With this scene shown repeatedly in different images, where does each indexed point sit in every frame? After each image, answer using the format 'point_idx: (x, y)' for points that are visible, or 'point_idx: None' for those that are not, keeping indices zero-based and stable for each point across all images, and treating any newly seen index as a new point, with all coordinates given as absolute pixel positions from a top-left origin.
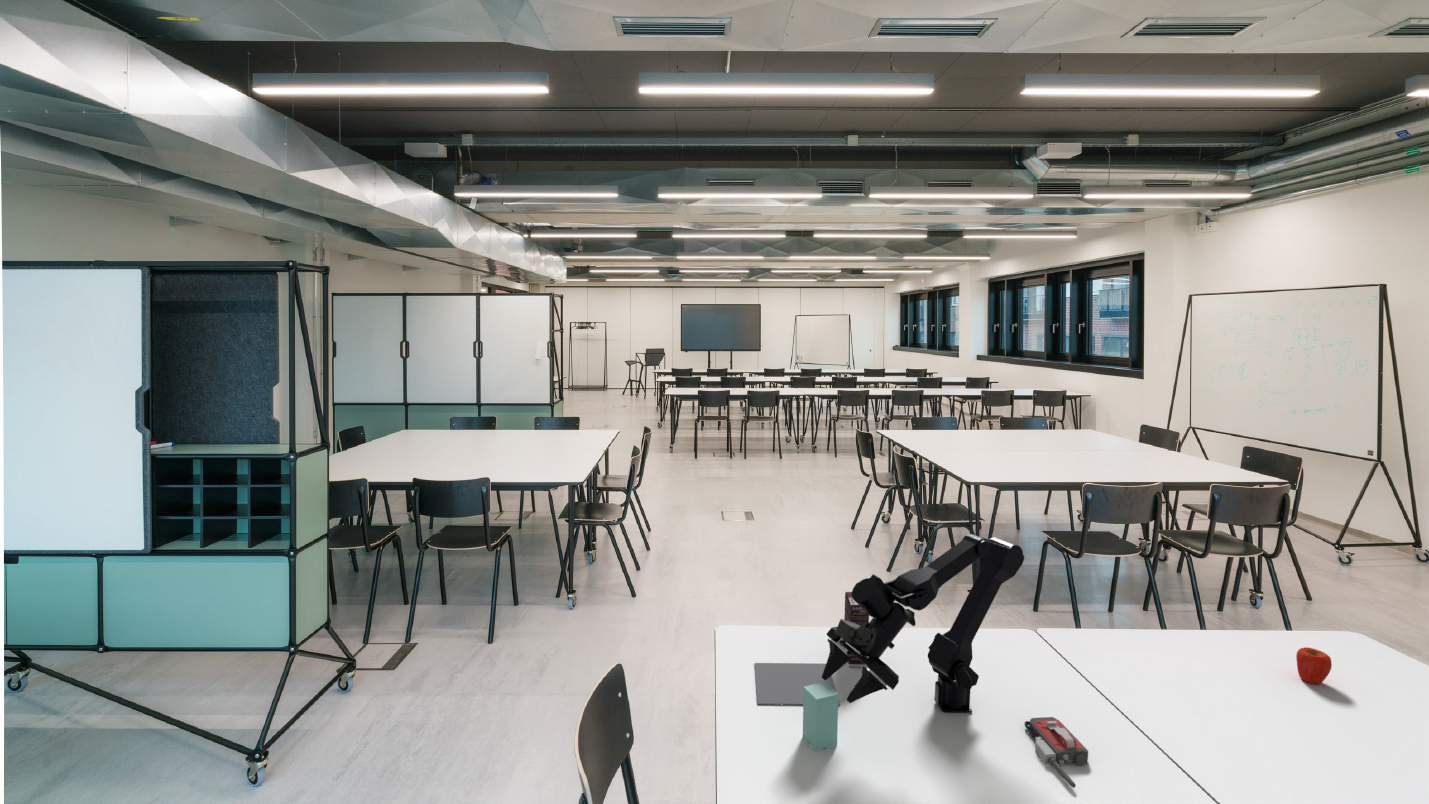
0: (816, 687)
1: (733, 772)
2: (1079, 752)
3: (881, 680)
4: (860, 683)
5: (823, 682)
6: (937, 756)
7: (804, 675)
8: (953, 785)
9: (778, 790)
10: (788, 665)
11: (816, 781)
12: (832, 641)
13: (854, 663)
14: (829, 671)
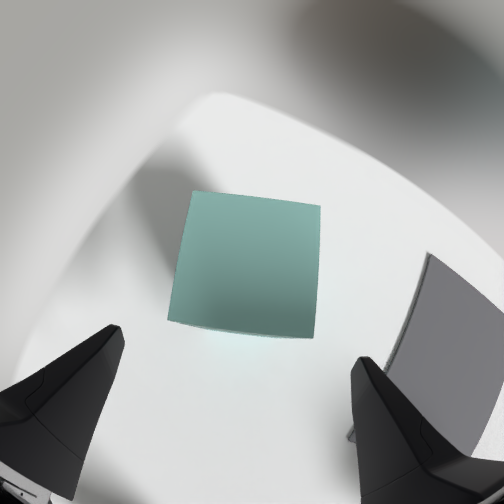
0: (285, 256)
1: (250, 106)
2: None
3: None
4: (31, 385)
5: (311, 325)
6: None
7: (466, 408)
8: None
9: (166, 138)
10: (496, 388)
11: (138, 204)
12: (502, 488)
13: None
14: (367, 405)
